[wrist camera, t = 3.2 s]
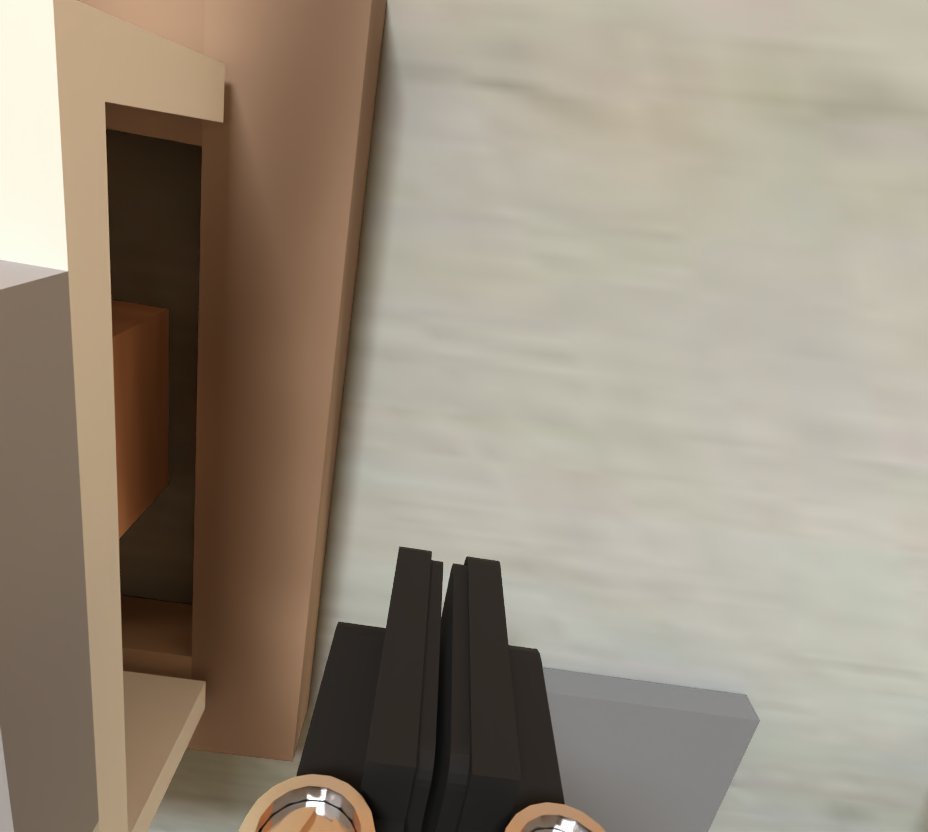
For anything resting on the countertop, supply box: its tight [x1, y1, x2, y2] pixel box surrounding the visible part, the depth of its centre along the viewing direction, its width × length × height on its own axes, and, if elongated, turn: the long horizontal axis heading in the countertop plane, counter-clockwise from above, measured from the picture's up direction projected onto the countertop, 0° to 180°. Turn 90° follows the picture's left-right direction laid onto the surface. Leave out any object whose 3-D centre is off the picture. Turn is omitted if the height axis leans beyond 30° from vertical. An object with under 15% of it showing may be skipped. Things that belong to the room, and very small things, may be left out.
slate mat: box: [543, 668, 760, 832], centre depth 21 cm, size 10×10×1 cm
